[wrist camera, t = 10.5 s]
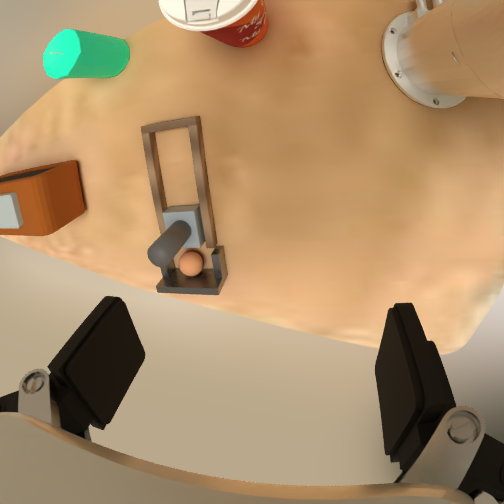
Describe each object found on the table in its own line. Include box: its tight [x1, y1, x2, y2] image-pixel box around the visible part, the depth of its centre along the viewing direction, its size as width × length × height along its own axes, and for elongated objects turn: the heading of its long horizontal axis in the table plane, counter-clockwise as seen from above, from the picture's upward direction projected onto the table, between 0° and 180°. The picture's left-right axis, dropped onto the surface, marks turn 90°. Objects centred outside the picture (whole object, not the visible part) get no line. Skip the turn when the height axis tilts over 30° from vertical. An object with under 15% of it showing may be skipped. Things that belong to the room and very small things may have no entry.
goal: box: [156, 246, 228, 295], centre depth 41 cm, size 5×9×5 cm, turn 95°
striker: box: [148, 205, 205, 267], centre depth 36 cm, size 5×4×9 cm
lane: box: [141, 116, 217, 248], centre depth 37 cm, size 17×7×2 cm, turn 5°
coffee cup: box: [158, 0, 268, 47], centre depth 21 cm, size 8×8×15 cm
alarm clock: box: [0, 161, 85, 236], centre depth 37 cm, size 24×8×11 cm, turn 91°
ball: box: [179, 252, 203, 276], centre depth 41 cm, size 3×3×3 cm
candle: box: [43, 29, 129, 79], centre depth 25 cm, size 6×6×12 cm
